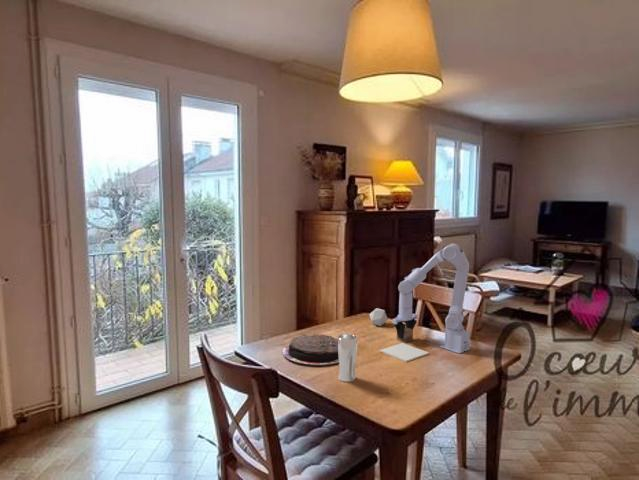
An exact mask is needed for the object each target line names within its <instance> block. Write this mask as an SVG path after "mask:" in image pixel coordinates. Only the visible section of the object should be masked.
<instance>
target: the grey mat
mask: <svg viewBox="0 0 639 480" xmlns="http://www.w3.org/2000/svg"><path fill="white" fill-rule="evenodd" d="M379 352H380V353H383V354H386V355H388V356H389V357H393V358H395V359H398V360H400V361H402V362H404V363H407V362H410V361H412V360H416V359H419V358H422V357H424V356H427V355H429V354H430V353H429V351H425V350H423V349H420V348H418V347H416V346H412V345H409V344H406V343H405V342H401V343H397V344H394V345H391V346H388V347H385V348H382V349H379Z"/></svg>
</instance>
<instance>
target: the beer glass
mask: <svg viewBox="0 0 639 480" xmlns="http://www.w3.org/2000/svg"><path fill="white" fill-rule="evenodd" d="M337 340H338V344H337V353H338V360H339V364H338V366H339V367H338V368H339V370H338V374H337V378H338V380H339V381H341V382H344V383H350V382H354V381H355V380H356V372H355V367H356V366H355V365H356V360H357V356H358V355H357V354H358V337H357V335H355V334H352V333H341V334H339V335H338V336H337Z"/></svg>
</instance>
